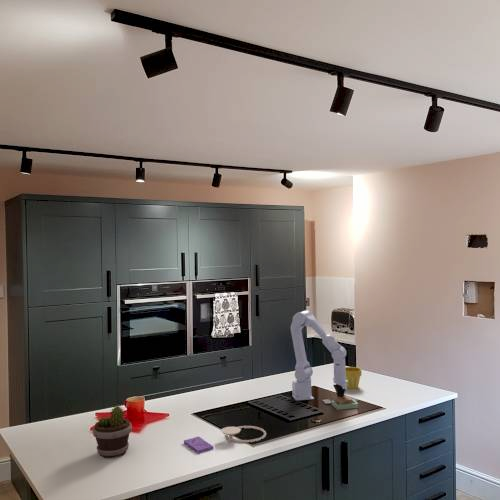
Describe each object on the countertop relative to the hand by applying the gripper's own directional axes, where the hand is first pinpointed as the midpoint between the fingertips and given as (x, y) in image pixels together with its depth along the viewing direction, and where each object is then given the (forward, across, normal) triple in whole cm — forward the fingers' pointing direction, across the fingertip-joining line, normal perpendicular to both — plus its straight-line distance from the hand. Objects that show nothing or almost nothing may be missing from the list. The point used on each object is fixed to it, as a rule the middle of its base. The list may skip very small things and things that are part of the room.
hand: (340, 399), depth 252 cm
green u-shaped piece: (+1, -3, 0) cm, 3 cm away
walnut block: (+2, -6, 0) cm, 6 cm away
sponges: (+2, -39, +72) cm, 82 cm away
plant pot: (+2, +24, -15) cm, 28 cm away
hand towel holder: (+2, -32, +53) cm, 62 cm away
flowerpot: (+2, -38, +105) cm, 111 cm away
